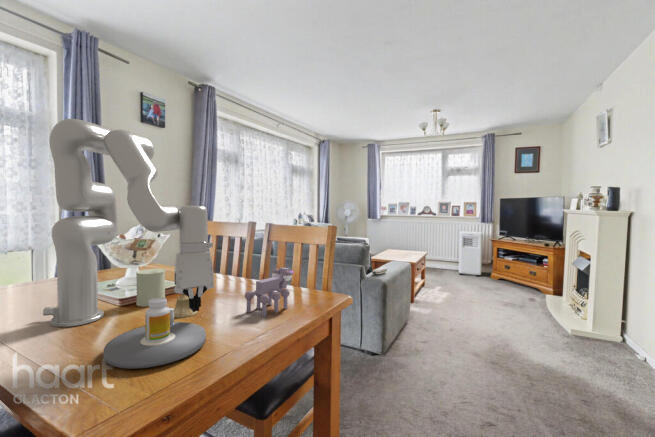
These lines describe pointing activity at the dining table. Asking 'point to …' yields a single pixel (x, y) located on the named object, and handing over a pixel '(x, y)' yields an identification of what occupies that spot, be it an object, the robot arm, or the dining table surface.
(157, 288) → the can
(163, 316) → the supplement bottle
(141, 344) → the turntable
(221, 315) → the dining table surface
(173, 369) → the dining table surface
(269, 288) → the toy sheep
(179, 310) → the hand bell
